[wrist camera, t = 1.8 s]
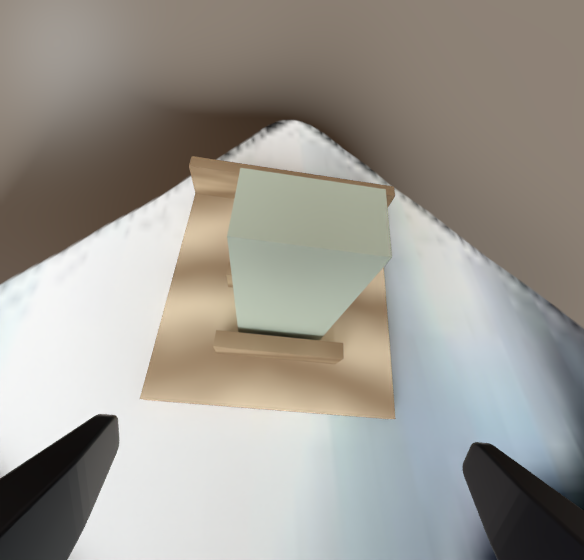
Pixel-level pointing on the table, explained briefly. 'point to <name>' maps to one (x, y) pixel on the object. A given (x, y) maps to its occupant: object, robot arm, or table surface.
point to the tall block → (302, 251)
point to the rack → (254, 347)
